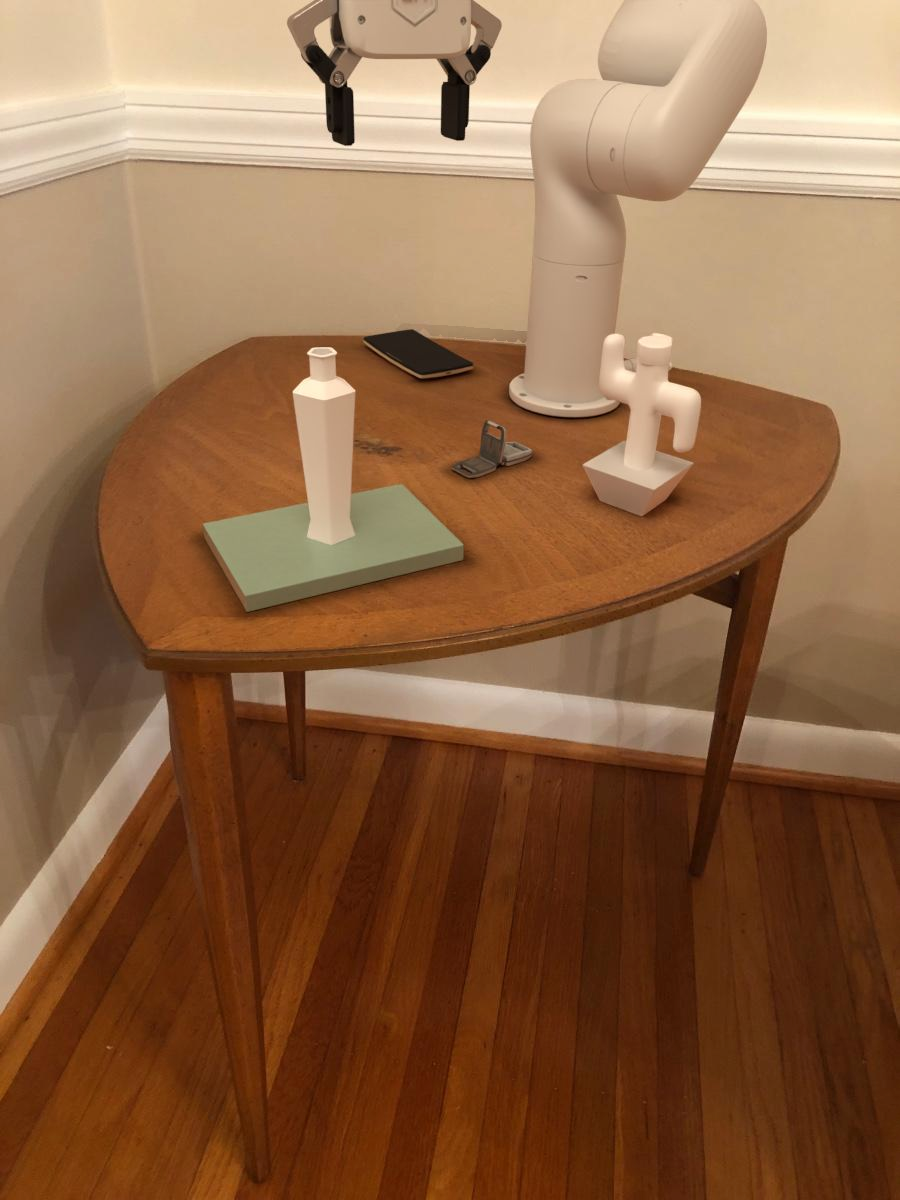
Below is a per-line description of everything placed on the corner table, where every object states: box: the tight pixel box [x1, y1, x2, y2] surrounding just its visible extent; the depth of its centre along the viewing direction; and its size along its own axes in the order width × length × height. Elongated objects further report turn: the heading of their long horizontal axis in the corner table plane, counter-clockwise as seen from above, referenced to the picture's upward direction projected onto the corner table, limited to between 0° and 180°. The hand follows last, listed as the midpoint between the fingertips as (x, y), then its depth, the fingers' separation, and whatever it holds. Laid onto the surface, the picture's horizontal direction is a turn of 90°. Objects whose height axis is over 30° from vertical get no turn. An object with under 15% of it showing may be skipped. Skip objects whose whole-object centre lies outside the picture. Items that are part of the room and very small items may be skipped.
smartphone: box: [362, 328, 474, 379], centre depth 116 cm, size 7×1×15 cm
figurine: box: [581, 332, 702, 517], centre depth 82 cm, size 7×9×15 cm
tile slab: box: [202, 483, 465, 613], centre depth 77 cm, size 18×12×2 cm, turn 117°
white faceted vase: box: [291, 346, 356, 545], centre depth 72 cm, size 5×4×15 cm
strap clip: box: [451, 419, 533, 479], centre depth 90 cm, size 8×3×4 cm, turn 130°
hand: (399, 140), depth 76 cm, fingers open, 9 cm apart
